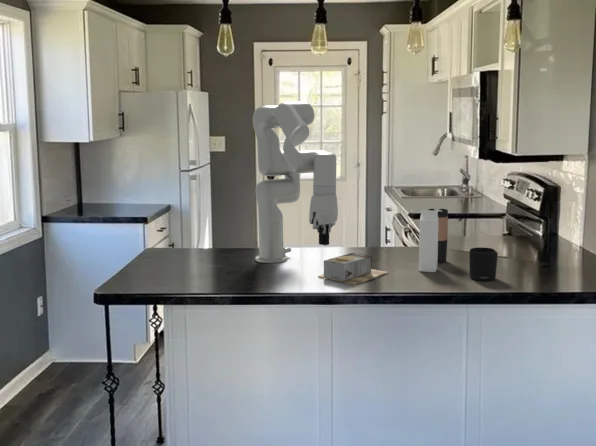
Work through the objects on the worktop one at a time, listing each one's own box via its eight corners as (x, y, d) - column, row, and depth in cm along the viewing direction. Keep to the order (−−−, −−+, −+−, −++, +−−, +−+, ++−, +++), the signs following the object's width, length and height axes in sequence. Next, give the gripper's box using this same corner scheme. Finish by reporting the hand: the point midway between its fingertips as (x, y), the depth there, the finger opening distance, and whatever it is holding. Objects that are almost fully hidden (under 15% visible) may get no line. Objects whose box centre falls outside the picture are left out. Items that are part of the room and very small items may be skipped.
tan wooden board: (352, 267, 256) (352, 265, 255) (388, 273, 245) (388, 272, 245) (318, 277, 241) (318, 275, 241) (354, 284, 230) (354, 283, 230)
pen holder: (463, 278, 237) (464, 250, 236) (477, 273, 244) (478, 246, 242) (488, 283, 231) (489, 254, 229) (501, 278, 237) (502, 249, 236)
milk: (421, 267, 254) (422, 209, 251) (437, 268, 252) (438, 209, 249) (418, 271, 248) (419, 211, 245) (435, 272, 246) (436, 211, 243)
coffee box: (323, 259, 237) (351, 252, 249) (323, 277, 238) (351, 269, 250) (344, 263, 231) (372, 255, 243) (344, 282, 232) (371, 273, 244)
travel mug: (438, 264, 259) (440, 211, 256) (422, 261, 265) (423, 209, 262) (450, 261, 264) (452, 209, 261) (434, 258, 270) (436, 207, 267)
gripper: (329, 186, 234) (329, 239, 237) (301, 191, 223) (300, 246, 226) (347, 189, 229) (346, 242, 233) (319, 193, 218) (318, 250, 222)
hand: (323, 244), depth 229 cm, fingers closed
